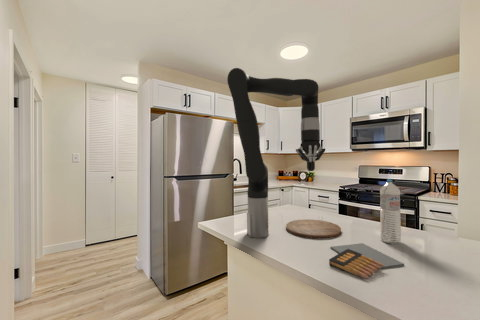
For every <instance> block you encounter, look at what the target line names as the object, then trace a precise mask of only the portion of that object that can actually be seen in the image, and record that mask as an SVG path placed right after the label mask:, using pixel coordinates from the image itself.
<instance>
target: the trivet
mask: <svg viewBox="0 0 480 320" xmlns="http://www.w3.org/2000/svg"><path fill="white" fill-rule="evenodd" d="M285 229H286V231H287V232H288V234H289V233H290V234H291V235H294V236H297V237H300V238H301V237H302V238H306V239H313V240H314V239H315V240H324V239H332V238H336V237H339V236H340V235H341V234H342V228H341V226H339V225H338V224H336V223H333V222H330V221H327V220H320V219H319V220H318V219H310V218H309V219H308V218H307V219H294V220H292V221H291V220H290V221H289V222H287V223H285Z"/></svg>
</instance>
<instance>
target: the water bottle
mask: <svg viewBox="0 0 480 320" xmlns="http://www.w3.org/2000/svg"><path fill="white" fill-rule="evenodd" d="M379 193H380V194H379V195H380V198H379V199H380V200H379V201H380V203H379V204H380V205H379V206H380V210H379V211H380V214H379V215H380V216H379V217H380V219H379V220H380V240H381V241H382V242H383V243H385V244H390V245H399V244H400V243H401V240H402V239H401V238H402V231H401V230H402V229H401V227H402V226H401V225H402V224H401V223H402V222H401V196H400V195H401V190H400V188H399V187H398V186H396V184H394V183H393V179H386V183H385V184H384V185H382V186H381V187H380V188H379Z"/></svg>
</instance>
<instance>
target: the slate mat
mask: <svg viewBox="0 0 480 320" xmlns="http://www.w3.org/2000/svg"><path fill="white" fill-rule="evenodd" d="M347 249H350V250H353V251H355V252H358V253H360V254H362V255H363V256H366V257H368V258H371V259H372V260H375V261H377V262H379V263H381V264H383V265H384V266H383V267H382V266H379V267H381V269H380V270H383V269H390V268H397V267H404V266H405V263H403V262H401V261H399V260H397V259H396V258H394V257H391V256H390V255H387V254H385V253H384V252H382V251H379V250H377V249H375V248H373V247H371V246H369V245H367V244H365V243H364V242H361V243H360V242H359V243H351V244H342V245H334V246H330V250H332V251H335V253H337V254H339V253H341V252H343V251H345V250H347ZM376 269H377V268H376ZM377 270H378V269H377Z"/></svg>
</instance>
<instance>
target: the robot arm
mask: <svg viewBox="0 0 480 320" xmlns="http://www.w3.org/2000/svg"><path fill="white" fill-rule="evenodd" d="M226 79H227V80H226V81H227V85H228V89H229V92H230V94H231V98H232V102H233V108H234V113H235V119H236V126H237V131H238V132H237V133H238V135H239V139H240V144H241V147H242V150H243V156H244V165H245V174H246V177H247V179H248V187H247V213H246V231H247V232H246V233H247V235H248V236H249V237H250V238H256V239H257V238H258V239H260V238H266V237H268V236H269V235H270V234H269V231H270V230H269V169H268V167H267V165H266V164H265V162H264V160H263V156H262V155H263V154H262V153H261V152H262V151H261V142H260V129H259V123H258V119H257V115H256V112H255V110H254V107H253V105H252V102H251V100H250V97H249V93H260V94H261V93H262V94H268V95H276V96H284V97H292V96H301V97H300V98H301V110H300V113H301V114H300V115H301V118H300V119H301V121H300V141H301V143H300V146H299V147H298V148H295V152H296V154H297V155H298V156H299V157H300V159H301V160H302V161H305V162H306V169H307V171H308V172H314V171H315V169H316V168H315V167H316V164H315V163H316V161H320V159H321V158H322V156H323V155H324V153H325V152H326V148H324V147H322V145H321V143H320V141H321V132H320V131H321V130H320V128H321V127H320V126H321V125H320V124H321V123H320V115H319V114H320V111H319V89H320V88H319V87H320V86H319V83H318V82H317V81H315V80H314V79H311V78H298V79H295V78H294V79H291V78H284V77H283V78H282V77H269V78H259V77H253V76H251V75H248V74H247V72H246V71H245V70H243V69H242V68H240V67H235V68H232V69H231V70H230V71H229V72H228V75H227V78H226Z"/></svg>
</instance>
